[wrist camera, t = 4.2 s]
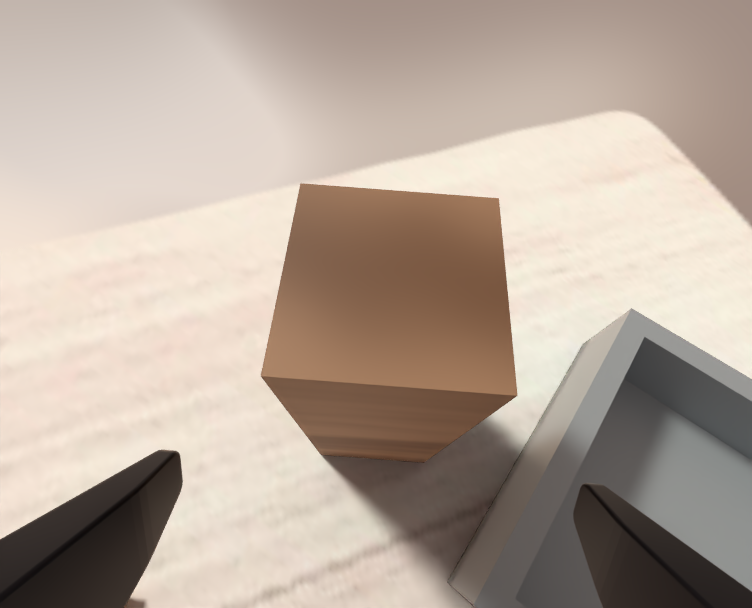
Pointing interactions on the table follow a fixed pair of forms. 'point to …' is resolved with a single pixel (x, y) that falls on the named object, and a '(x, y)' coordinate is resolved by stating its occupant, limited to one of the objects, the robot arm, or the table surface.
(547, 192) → the table surface
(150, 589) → the table surface
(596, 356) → the box
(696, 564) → the robot arm
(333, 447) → the walnut block
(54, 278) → the table surface
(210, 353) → the table surface
